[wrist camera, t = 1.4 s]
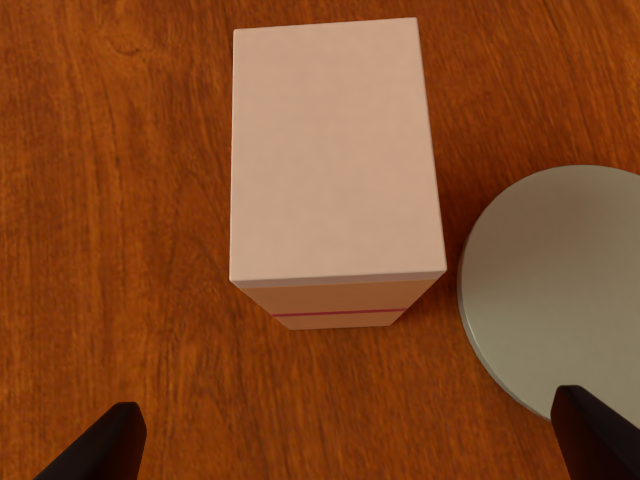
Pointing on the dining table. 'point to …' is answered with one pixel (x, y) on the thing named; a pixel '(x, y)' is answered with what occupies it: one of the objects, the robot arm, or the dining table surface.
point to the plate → (558, 287)
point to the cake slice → (333, 173)
